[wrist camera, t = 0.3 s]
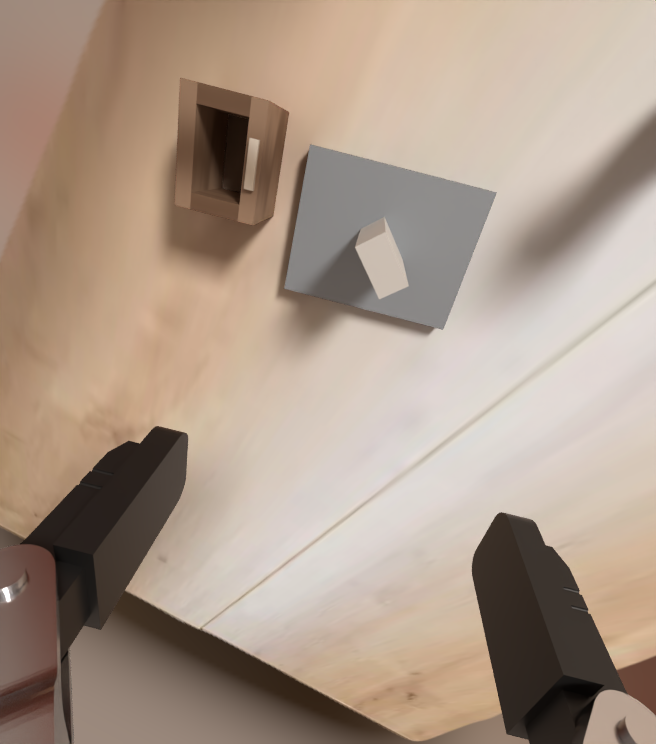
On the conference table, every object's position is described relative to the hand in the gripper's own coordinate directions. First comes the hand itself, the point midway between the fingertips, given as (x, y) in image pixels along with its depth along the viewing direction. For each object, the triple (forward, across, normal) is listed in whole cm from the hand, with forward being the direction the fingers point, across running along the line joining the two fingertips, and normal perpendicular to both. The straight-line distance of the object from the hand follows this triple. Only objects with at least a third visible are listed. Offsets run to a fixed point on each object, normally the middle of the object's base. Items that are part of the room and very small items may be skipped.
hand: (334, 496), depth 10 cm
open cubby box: (+27, +11, -6) cm, 30 cm away
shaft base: (+27, -1, -2) cm, 27 cm away
